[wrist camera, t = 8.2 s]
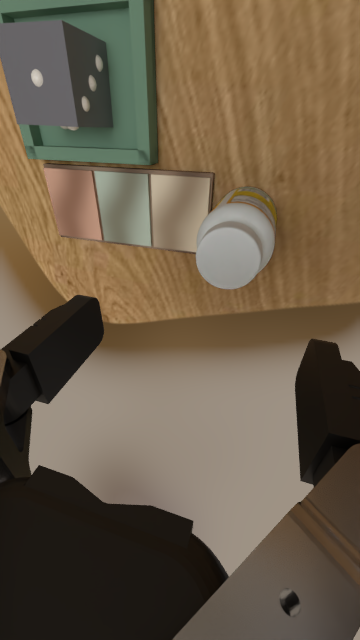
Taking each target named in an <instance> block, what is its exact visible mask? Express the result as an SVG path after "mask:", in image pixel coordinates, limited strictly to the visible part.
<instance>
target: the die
mask: <svg viewBox="0 0 360 640" xmlns="http://www.w3.org/2000/svg"><path fill="white" fill-rule="evenodd" d="M0 58H1V62H2V66H3V69H4V73H5V77H6V81H7V85H8V89H9V93H10V97H11V101H12V105H13V108H14V112H15V116H16V120H17V124H24V125H46V126H60V127H61V128H63V129H70V130H73V131H75V130H77V129H78V128H79V127H111V128H113V116H112V105H111V94H110V83H109V72H108V60H107V49H106V42H104V41H102V40H100V39H98V38H96V37H94V36H92V35H90V34H88V33H86V32H85V31H83V30H81V29H79V28H77V27H75V26H73V25H71V24H69V23H67V22H65V21H63V20H54V21H35V22H17V23H0Z"/></svg>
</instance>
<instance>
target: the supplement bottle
mask: <svg viewBox="0 0 360 640" xmlns="http://www.w3.org/2000/svg"><path fill="white" fill-rule="evenodd" d="M276 222H277V213H276V208H275V205H274V203H273V201H272V200H271V198H270V197H269V196H268V195H267V194H266V193H265V192H263V191H262V190H260V189H257V188H254V187H241V188H237V189H235V190H233V191H231V192H229V193H228V194H227V195H225V196H224V197H223V198H222V200H221V201H220V202H219V203H218V204H217V205H216V207H215V208H214V209H213V210H212V211H211V212H210V213H209V214H208V215H207V217H206V218H205V219H204V221H203V222H202V224H201V226H200V228H199V231H198V234H197V251H196V264H197V267H198V270H199V272H200V274H201V275H202V277H203V278H204V279H205V280H206V281H207V282H209V283H210V284H211V285H213V286H215V287H218V288H222V289H236V288H240V287H242V286H244V285H246V284H248V283H249V282H250V281H251V280H252V279H253V278H254V277H255V276H256V274H257V273H259V272H260V271H261V270H262V269H263V268H264V267H265V266H266V265H267V263H268V262H269V260H270V258H271V256H272V254H273V250H274V245H275V235H276Z"/></svg>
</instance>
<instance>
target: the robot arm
mask: <svg viewBox="0 0 360 640" xmlns="http://www.w3.org/2000/svg"><path fill="white" fill-rule="evenodd" d="M103 334H104V327H103V322H102V316H101V310H100V305H99V301H98V299H97V298H94V297H88V296H83V295H76V296H74V297H73V298H72V299H71V300H69V301H68V302H67V303H66V304H64V305H62V306H59V307H57V308H55V309H53V310H51V311H49V312H48V313H47V314H46V315H45V316H43V317H42V319H41V320H40V319H39V320H38V321H37V322H35V323H34V325H33V326H30V327H29V328H28V329H26V330H25V331H24V332H23V333H22V334H20V335H19V336H18V337H16V338H15V339H14V340H12V341H11V342H10V343H9V344H7V345H6V346H5V347H3V348H2V349H1V350H0V640H353V638H354V636H355V635H356V633H357V631H358V629H359V627H360V371H359V370H358V369H357V367H356V366H355V365H354V364H353V363H352V362H350V361H345V360H342V359H341V356H340V352H339V348H338V345H337V344H336V343H333V342H327V341H322V340H317V339H311V340H310V341H309V343H308V346H307V348H306V351H305V354H304V356H303V359H302V361H301V364H300V367H299V369H298V372H297V376H296V382H295V394H296V411H297V428H298V445H299V461H300V478H301V481H303V482H306V483H309V484H313V485H314V488H313V489H312V490H311V492H310V493H309V494H308V495H307V496H306V497H305V498H304V499H303V500H302V501H301V502H298V503H297V504H296V505H295V506H294V507H293V508H292V509H291V510H290V511H289V512H288V513H287V514H286V515H285V516H284V517H283V519H282V520H281V521H280V522H279V523H278V524H277V525H276V526H275V527H274V528H273V530H272V531H271V532H270V533H269V534H268V535H267V536H266V537H265V538H264V539H263V540H262V542H261V543H260V544H259V545H258V546H257V547H256V548H255V549H254V550H253V551H252V553H251V554H250V555H249V556H248V557H247V558H246V559H245V560H244V562H242V564H241V565H240V566H239V567H238V568H237V569H236V570H235V571H234V572H233V573H232V575H231V576H230V577H229V576H228V574H227V573H226V571H225V569H224V568H223V566H222V565H221V563H220V561H219V560H218V559H217V557H216V556H215V555H214V553H213V552H212V551H211V550H210V549H209V548H208V547H207V546H206V545H205V544H204V543H203V542H202V541H201V540H200V539H199V538H198V537H196V536H195V535H194V534H192V528H193V521H192V520H189V519H186V518H184V517H181V516H178V515H176V514H173V513H170V512H167V511H164V510H162V509H159V508H156V507H153V506H147V505H125V504H107V503H104V502H102V501H101V500H100V499H99V498H97V497H96V496H95V495H94V494H93V493H91V492H90V491H89V490H88V489H86V488H85V487H84V486H83V485H82V484H80V483H79V482H78V481H77V480H75V479H74V478H73V477H71V476H68V475H65V474H62V473H59V472H56V471H54V470H51V469H48V468H46V467H43V466H40V465H39V466H38V467H37V469H36V470H35V471H34V473H33V474H32V475H31V471H30V466H29V446H30V434H31V422H32V408H31V405H32V404H33V403H34V401H35V400H36V401H39V402H43V403H46V404H49V403H50V402H51V400H52V399H53V398H54V397H55V396H56V395H57V393H58V392H59V391H60V390H61V389H62V388H63V386H64V385H65V384H66V383H67V382H68V380H69V379H70V378H71V377H72V376H73V375H74V373H75V372H76V371H77V370H78V369H79V368H80V366H81V365H82V364H83V363H84V362H85V360H86V359H87V358H88V357H89V356H90V355H91V353H92V352H93V351H94V350H95V349H96V347H97V346H98V345H99V344H100V342H101V341H102V338H103Z"/></svg>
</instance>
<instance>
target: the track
mask: <svg viewBox="0 0 360 640" xmlns="http://www.w3.org/2000/svg"><path fill="white" fill-rule="evenodd" d="M43 165H44V168H43V169H44V173H45V177H46V181H47V185H48V189H49V194H50V198H51V202H52V206H53V210H54V214H55V218H56V222H57V227H58V231H59V235H60V236H61V237H67V238H75V239H83V240H90V241H98V242H106V243H114V244H122V245H129V246H137V247H145V248H153V249H161V250H168V251H176V252H184V253H192V254H196V251H197V234H198V231H199V228H200V226H201V224H202V222H203V221H204V219H205V218H206V217H207V215H208V214H209V213H210V212H211V211H212V198H213V185H214V173H210V172H192V171H175V170H157V169H139V168H121V167H104V166H86V165H68V164H50V163H46V164H43Z"/></svg>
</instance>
